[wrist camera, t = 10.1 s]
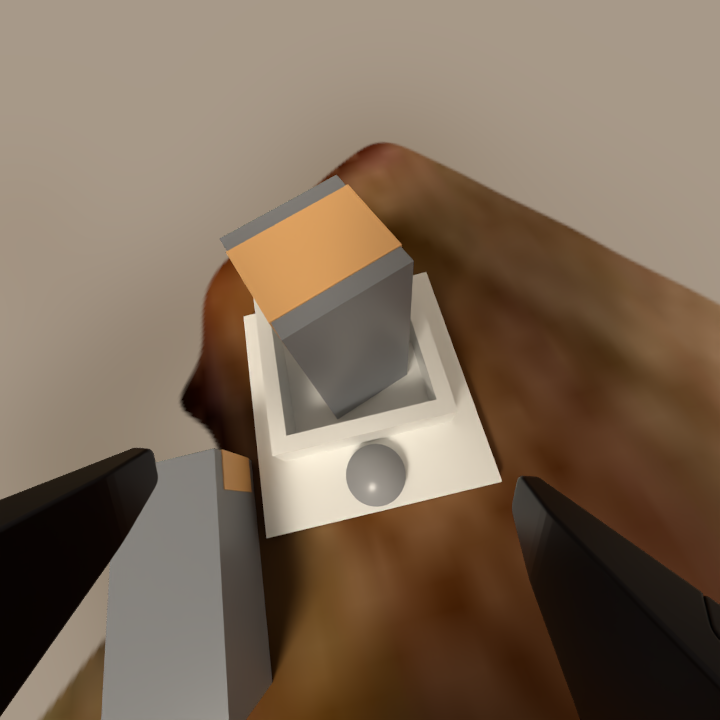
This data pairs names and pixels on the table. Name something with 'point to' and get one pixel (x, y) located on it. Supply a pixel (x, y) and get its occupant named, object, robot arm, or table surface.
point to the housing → (364, 430)
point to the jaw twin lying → (189, 599)
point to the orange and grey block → (331, 290)
